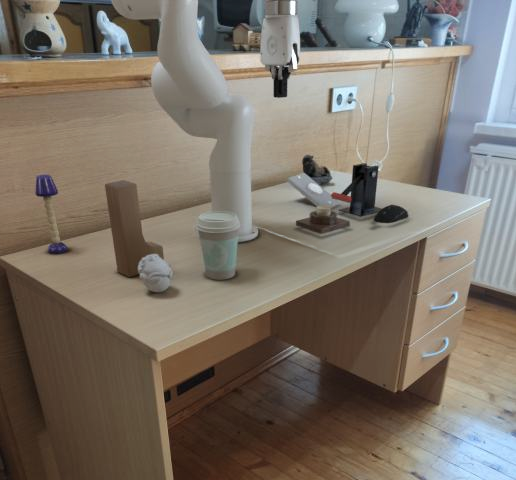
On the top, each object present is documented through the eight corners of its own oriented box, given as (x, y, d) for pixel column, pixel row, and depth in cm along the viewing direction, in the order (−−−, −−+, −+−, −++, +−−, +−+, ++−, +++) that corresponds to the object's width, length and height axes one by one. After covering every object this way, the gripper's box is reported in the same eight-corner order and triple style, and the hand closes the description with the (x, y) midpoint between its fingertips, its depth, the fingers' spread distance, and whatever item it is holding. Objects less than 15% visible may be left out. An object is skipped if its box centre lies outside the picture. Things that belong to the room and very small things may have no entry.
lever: (349, 204, 137) (347, 197, 135) (332, 200, 141) (330, 193, 139) (378, 174, 139) (376, 167, 138) (361, 171, 143) (358, 163, 142)
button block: (320, 237, 128) (321, 221, 126) (295, 229, 134) (296, 213, 132) (349, 229, 133) (350, 213, 131) (323, 221, 139) (324, 206, 138)
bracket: (360, 220, 140) (364, 170, 134) (338, 214, 146) (341, 165, 139) (384, 213, 146) (390, 165, 139) (362, 207, 151) (366, 160, 145)
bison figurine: (321, 180, 181) (323, 149, 176) (336, 184, 176) (338, 152, 171) (295, 186, 174) (296, 154, 169) (311, 190, 169) (312, 157, 164)
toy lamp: (44, 249, 122) (28, 175, 114) (64, 245, 125) (49, 172, 117) (52, 255, 119) (36, 179, 111) (72, 250, 122) (58, 175, 113)
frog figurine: (158, 281, 105) (154, 247, 102) (181, 290, 101) (178, 255, 98) (133, 291, 101) (128, 256, 98) (156, 301, 97) (152, 265, 94)
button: (323, 218, 130) (323, 209, 129) (312, 215, 132) (313, 206, 131) (333, 215, 132) (334, 207, 131) (323, 212, 134) (323, 204, 133)
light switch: (326, 206, 146) (288, 174, 149) (317, 223, 150) (280, 192, 153) (342, 200, 152) (305, 169, 155) (332, 216, 156) (296, 186, 159)
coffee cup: (191, 274, 108) (186, 216, 102) (222, 263, 113) (220, 207, 108) (218, 286, 103) (215, 225, 97) (250, 274, 108) (249, 216, 102)
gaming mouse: (361, 226, 136) (362, 210, 134) (391, 214, 145) (393, 199, 143) (383, 231, 132) (384, 215, 130) (412, 218, 141) (414, 203, 139)
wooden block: (152, 260, 115) (143, 175, 106) (165, 266, 113) (156, 179, 104) (116, 272, 110) (103, 183, 101) (129, 278, 107) (116, 187, 98)
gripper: (248, 12, 127) (250, 96, 136) (290, 9, 117) (289, 100, 126) (272, 12, 131) (272, 94, 140) (315, 9, 121) (311, 98, 130)
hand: (280, 97), depth 133 cm, fingers closed
